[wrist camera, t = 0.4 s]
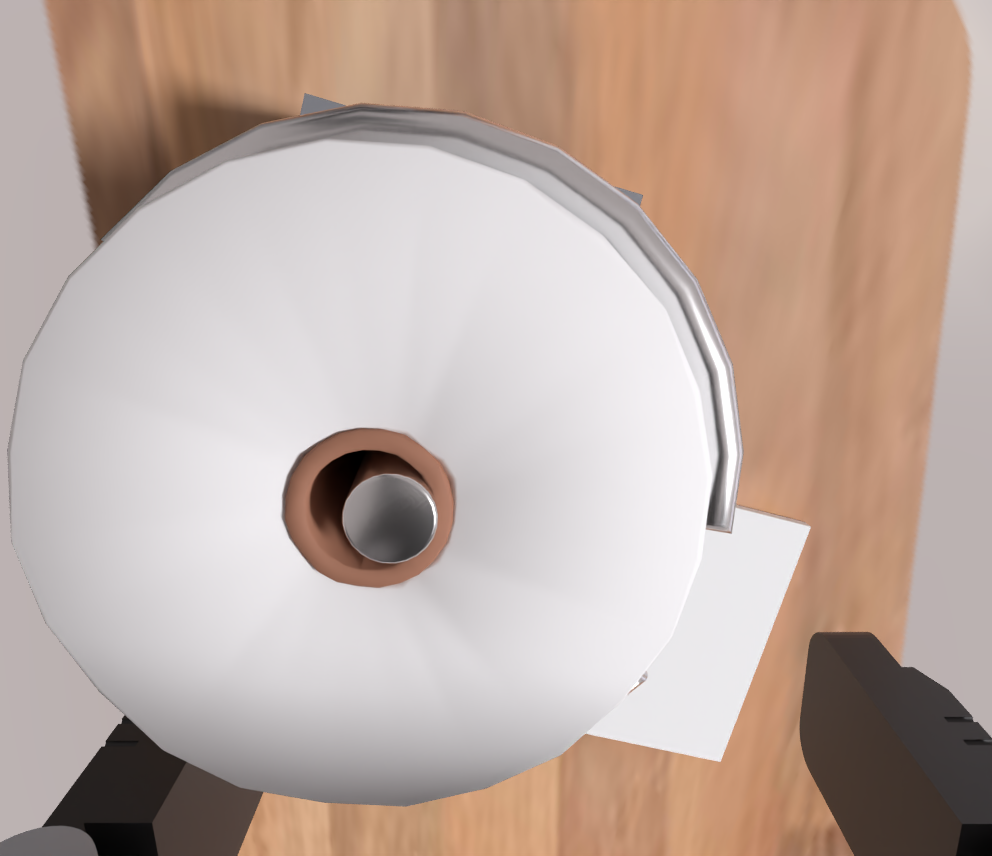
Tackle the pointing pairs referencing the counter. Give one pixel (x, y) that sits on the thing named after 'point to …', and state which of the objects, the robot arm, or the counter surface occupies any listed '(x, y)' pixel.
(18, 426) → the silver metal canister
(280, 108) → the counter surface
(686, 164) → the counter surface
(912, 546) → the counter surface
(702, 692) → the rubber mat
